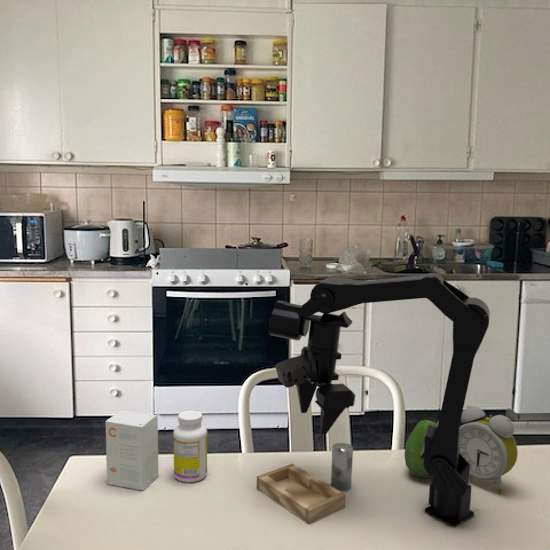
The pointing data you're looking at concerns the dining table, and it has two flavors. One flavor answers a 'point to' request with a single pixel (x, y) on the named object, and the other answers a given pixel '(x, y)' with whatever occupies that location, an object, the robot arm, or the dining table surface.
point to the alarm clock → (487, 445)
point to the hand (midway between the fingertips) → (313, 422)
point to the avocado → (417, 449)
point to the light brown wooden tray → (301, 492)
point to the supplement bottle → (190, 447)
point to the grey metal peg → (341, 466)
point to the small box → (132, 449)
